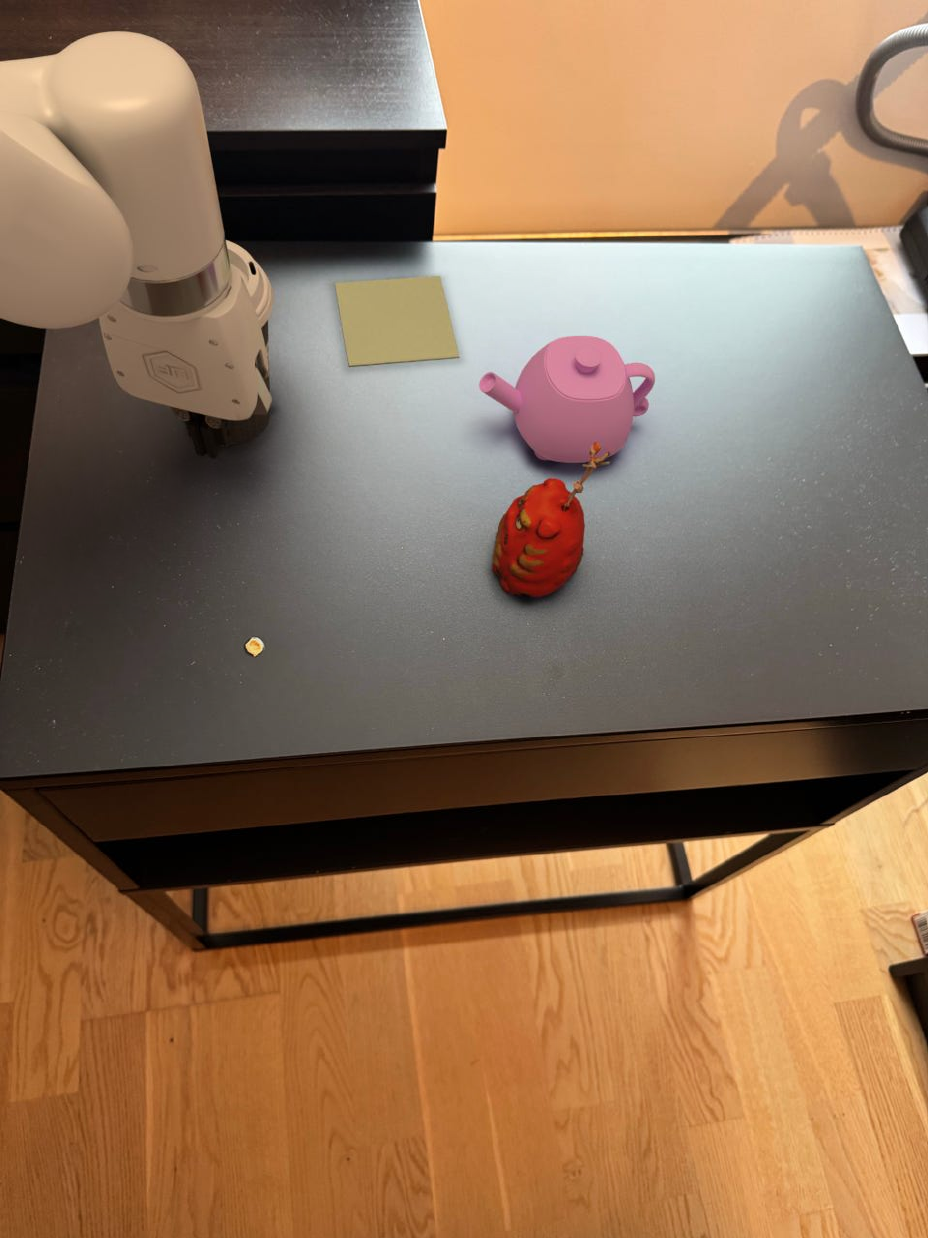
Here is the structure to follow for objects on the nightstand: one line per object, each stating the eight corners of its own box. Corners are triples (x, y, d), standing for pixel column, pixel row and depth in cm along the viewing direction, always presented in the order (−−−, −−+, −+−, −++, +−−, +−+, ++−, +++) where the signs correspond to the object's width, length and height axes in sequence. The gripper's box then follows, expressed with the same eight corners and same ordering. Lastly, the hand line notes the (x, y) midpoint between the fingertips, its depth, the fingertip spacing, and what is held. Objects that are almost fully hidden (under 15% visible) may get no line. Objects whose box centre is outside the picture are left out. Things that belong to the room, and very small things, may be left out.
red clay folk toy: (492, 520, 75) (518, 401, 61) (576, 528, 75) (620, 412, 62) (487, 602, 71) (514, 495, 58) (576, 610, 72) (622, 506, 58)
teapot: (650, 475, 78) (683, 404, 70) (478, 482, 76) (492, 411, 68) (627, 380, 83) (656, 304, 74) (464, 385, 81) (475, 307, 72)
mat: (348, 366, 80) (348, 365, 80) (334, 283, 85) (334, 282, 84) (459, 357, 82) (459, 356, 82) (440, 276, 86) (440, 275, 86)
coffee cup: (279, 465, 75) (258, 335, 62) (162, 453, 75) (116, 318, 61) (296, 376, 79) (280, 236, 66) (186, 364, 79) (148, 220, 65)
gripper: (23, 274, 54) (104, 458, 71) (263, 332, 54) (289, 503, 70) (75, 192, 58) (141, 385, 74) (302, 247, 57) (318, 429, 74)
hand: (213, 442), depth 72 cm, fingers closed
